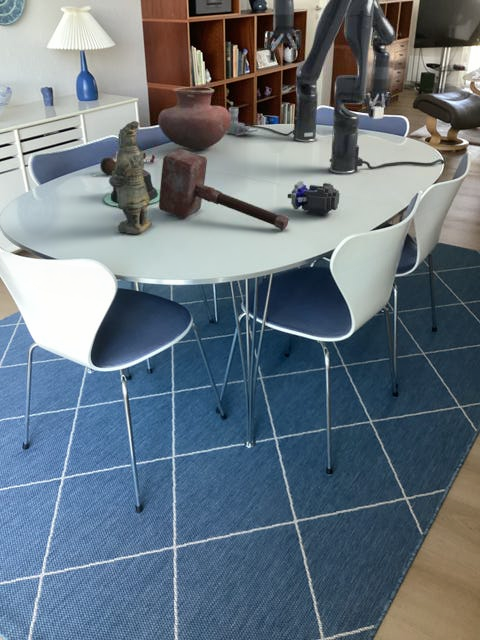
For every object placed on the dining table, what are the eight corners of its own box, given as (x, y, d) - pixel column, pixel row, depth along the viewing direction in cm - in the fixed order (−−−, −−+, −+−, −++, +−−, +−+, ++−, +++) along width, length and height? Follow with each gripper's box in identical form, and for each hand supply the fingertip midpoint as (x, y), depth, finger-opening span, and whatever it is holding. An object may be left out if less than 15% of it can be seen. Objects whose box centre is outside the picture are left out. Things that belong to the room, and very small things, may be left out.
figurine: (161, 151, 222) (115, 157, 203) (161, 170, 225) (116, 178, 206) (137, 147, 228) (90, 152, 209) (137, 166, 232) (91, 173, 212)
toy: (295, 178, 172) (342, 184, 166) (295, 205, 177) (340, 211, 171) (285, 186, 166) (333, 192, 160) (284, 213, 170) (331, 220, 164)
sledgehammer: (299, 190, 156) (179, 147, 167) (285, 200, 148) (161, 154, 160) (286, 244, 166) (174, 200, 177) (272, 256, 158) (156, 209, 170)
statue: (131, 220, 168) (117, 116, 152) (158, 224, 164) (147, 118, 149) (109, 233, 159) (93, 124, 144) (138, 237, 156) (124, 126, 140)
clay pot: (236, 141, 255) (235, 83, 242) (223, 158, 229) (221, 93, 216) (172, 140, 260) (168, 82, 247) (152, 156, 234) (146, 93, 221)
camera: (234, 105, 269) (258, 109, 260) (235, 130, 275) (258, 135, 266) (222, 108, 263) (246, 112, 254) (223, 134, 269) (246, 138, 260)
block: (377, 116, 261) (378, 106, 259) (382, 118, 257) (384, 107, 255) (368, 117, 260) (369, 106, 258) (374, 119, 256) (375, 108, 254)
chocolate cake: (91, 202, 180) (113, 186, 197) (142, 231, 182) (160, 212, 199) (107, 162, 172) (129, 148, 190) (160, 192, 174) (177, 176, 192)
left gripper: (389, 75, 255) (385, 114, 263) (361, 77, 251) (358, 116, 260) (398, 77, 248) (393, 117, 257) (369, 79, 245) (366, 119, 253)
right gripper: (297, 12, 211) (295, 59, 219) (262, 13, 207) (262, 61, 215) (305, 12, 205) (303, 60, 213) (269, 13, 201) (269, 62, 209)
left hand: (375, 116), depth 258 cm, fingers closed on block, 4 cm apart
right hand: (282, 60), depth 214 cm, fingers open, 8 cm apart
